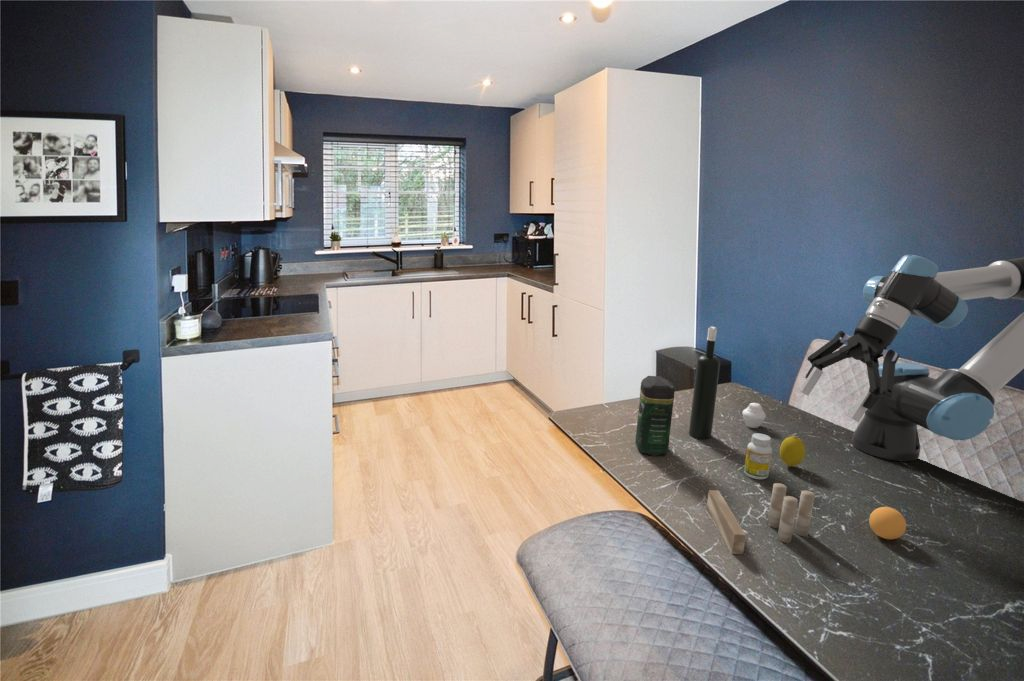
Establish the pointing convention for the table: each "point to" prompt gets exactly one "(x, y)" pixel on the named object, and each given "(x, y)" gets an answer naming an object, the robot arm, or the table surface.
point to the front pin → (804, 513)
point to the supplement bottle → (758, 457)
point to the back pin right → (776, 505)
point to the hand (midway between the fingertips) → (827, 406)
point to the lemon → (792, 451)
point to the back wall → (726, 522)
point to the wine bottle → (705, 390)
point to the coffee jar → (654, 415)
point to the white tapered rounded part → (753, 415)
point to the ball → (887, 523)
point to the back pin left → (787, 519)
